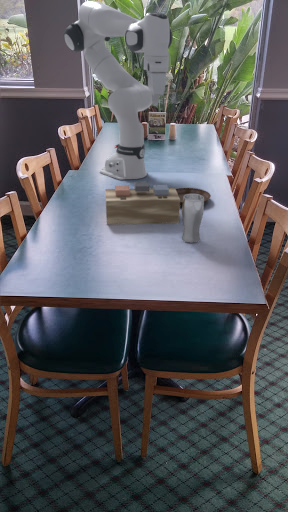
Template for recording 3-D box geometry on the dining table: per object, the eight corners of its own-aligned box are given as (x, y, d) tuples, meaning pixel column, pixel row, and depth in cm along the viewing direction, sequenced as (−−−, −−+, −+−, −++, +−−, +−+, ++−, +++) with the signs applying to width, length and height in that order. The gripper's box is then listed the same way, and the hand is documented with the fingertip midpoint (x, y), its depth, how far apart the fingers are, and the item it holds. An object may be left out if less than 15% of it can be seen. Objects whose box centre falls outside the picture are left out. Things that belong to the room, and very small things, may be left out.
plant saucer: (159, 196, 190) (160, 189, 188) (197, 191, 195) (198, 185, 194) (177, 212, 175) (177, 204, 174) (218, 206, 181) (218, 199, 179)
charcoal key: (134, 187, 167) (134, 181, 166) (147, 186, 168) (147, 181, 167) (135, 191, 163) (135, 186, 162) (149, 191, 163) (149, 186, 162)
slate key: (153, 190, 169) (153, 185, 168) (166, 190, 169) (166, 184, 168) (154, 195, 164) (154, 189, 163) (168, 194, 165) (168, 189, 164)
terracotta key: (115, 190, 167) (115, 185, 166) (128, 190, 168) (128, 185, 167) (115, 195, 163) (115, 190, 162) (129, 195, 163) (129, 190, 162)
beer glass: (203, 236, 155) (206, 195, 148) (198, 245, 149) (201, 202, 142) (183, 233, 157) (185, 192, 150) (178, 241, 151) (180, 199, 144)
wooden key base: (106, 211, 174) (105, 188, 169) (173, 210, 176) (174, 187, 171) (106, 224, 163) (106, 200, 159) (178, 222, 165) (180, 198, 161)
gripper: (144, 61, 170) (143, 100, 176) (150, 67, 152) (149, 110, 158) (161, 61, 170) (160, 100, 177) (169, 67, 152) (167, 110, 159)
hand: (155, 105), depth 167 cm, fingers closed
